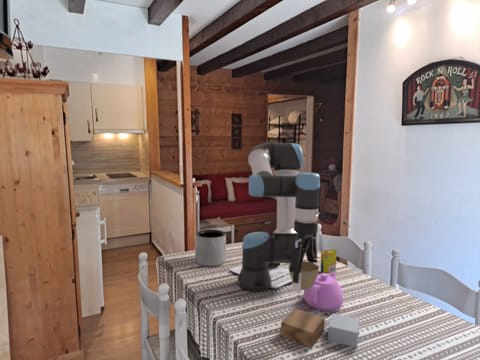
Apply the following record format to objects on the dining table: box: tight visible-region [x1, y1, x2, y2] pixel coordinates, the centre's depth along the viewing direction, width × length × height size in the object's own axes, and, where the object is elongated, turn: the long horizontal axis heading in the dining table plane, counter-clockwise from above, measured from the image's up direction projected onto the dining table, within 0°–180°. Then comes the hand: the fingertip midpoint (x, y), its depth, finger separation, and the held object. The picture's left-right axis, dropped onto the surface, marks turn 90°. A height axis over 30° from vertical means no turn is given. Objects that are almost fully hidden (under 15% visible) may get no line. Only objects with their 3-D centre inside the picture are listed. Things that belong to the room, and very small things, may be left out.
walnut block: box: [280, 308, 326, 349], centre depth 114 cm, size 11×11×5 cm
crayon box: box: [319, 248, 337, 274], centre depth 168 cm, size 7×3×12 cm, turn 108°
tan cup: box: [288, 260, 320, 291], centre depth 111 cm, size 10×10×7 cm
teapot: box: [302, 271, 344, 312], centre depth 135 cm, size 22×16×12 cm
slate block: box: [327, 312, 361, 348], centre depth 112 cm, size 9×9×5 cm
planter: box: [194, 229, 227, 268], centre depth 176 cm, size 16×16×16 cm
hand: (303, 286), depth 112 cm, fingers closed on tan cup, 10 cm apart
